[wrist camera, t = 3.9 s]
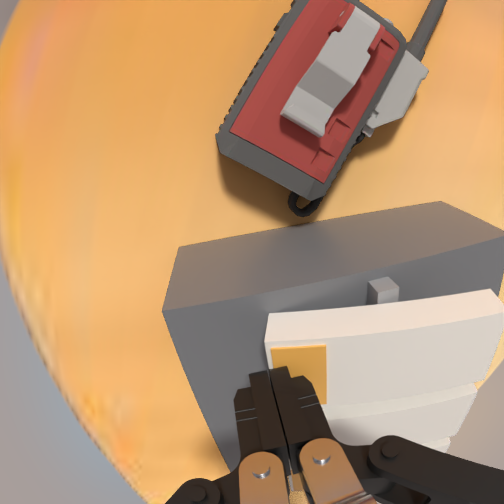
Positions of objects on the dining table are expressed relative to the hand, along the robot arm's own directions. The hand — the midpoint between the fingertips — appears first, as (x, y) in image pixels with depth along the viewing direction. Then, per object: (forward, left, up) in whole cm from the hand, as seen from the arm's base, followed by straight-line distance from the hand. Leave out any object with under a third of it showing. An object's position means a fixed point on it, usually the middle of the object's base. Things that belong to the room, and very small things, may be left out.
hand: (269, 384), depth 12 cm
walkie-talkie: (-8, -13, -10) cm, 18 cm away
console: (-5, +5, -9) cm, 12 cm away
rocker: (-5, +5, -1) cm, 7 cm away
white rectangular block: (-5, 0, -1) cm, 5 cm away
